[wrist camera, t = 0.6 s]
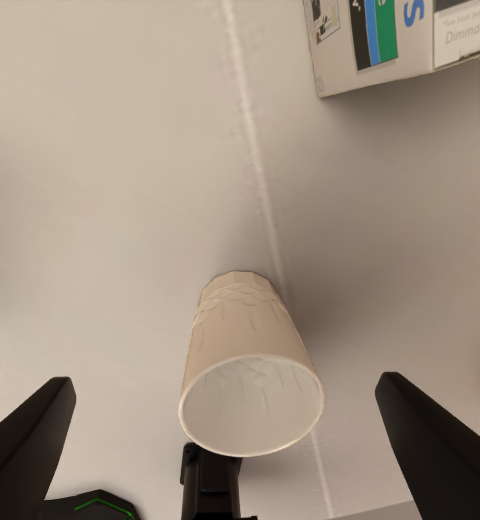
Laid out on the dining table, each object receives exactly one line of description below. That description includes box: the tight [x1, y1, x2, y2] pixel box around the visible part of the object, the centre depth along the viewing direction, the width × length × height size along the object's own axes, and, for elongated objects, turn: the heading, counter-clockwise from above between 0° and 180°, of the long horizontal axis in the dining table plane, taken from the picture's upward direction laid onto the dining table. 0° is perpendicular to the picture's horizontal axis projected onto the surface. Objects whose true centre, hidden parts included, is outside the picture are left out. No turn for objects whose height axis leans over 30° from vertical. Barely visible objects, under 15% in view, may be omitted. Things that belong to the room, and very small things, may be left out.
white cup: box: [178, 271, 326, 457], centre depth 20 cm, size 8×8×10 cm
